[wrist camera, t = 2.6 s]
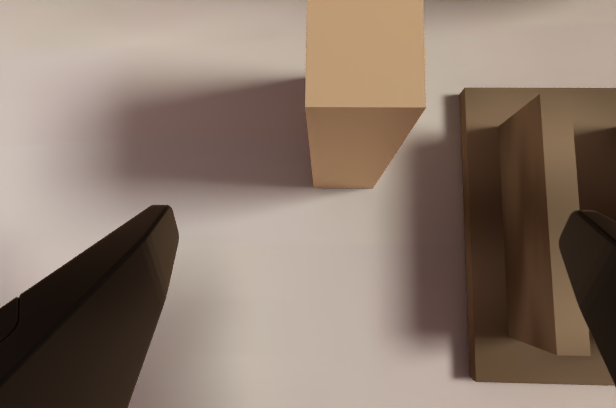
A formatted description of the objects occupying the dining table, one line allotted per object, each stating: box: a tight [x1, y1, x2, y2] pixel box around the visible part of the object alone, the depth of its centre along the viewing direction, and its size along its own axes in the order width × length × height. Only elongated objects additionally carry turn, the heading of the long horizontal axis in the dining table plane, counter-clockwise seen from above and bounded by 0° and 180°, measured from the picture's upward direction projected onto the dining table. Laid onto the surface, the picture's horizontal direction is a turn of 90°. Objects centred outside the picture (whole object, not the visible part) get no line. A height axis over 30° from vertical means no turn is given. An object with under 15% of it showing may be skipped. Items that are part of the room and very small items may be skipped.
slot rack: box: [460, 88, 616, 385], centre depth 18 cm, size 14×10×5 cm
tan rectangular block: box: [305, 0, 426, 188], centre depth 16 cm, size 6×3×11 cm, turn 179°
